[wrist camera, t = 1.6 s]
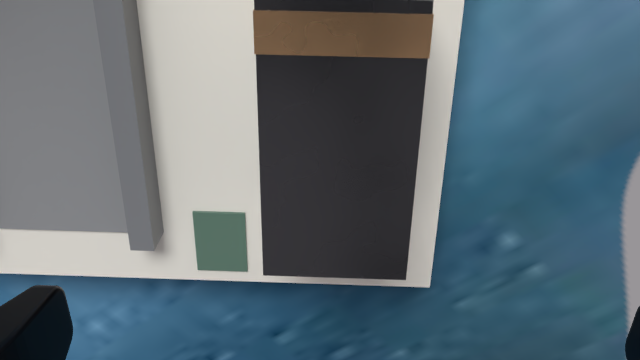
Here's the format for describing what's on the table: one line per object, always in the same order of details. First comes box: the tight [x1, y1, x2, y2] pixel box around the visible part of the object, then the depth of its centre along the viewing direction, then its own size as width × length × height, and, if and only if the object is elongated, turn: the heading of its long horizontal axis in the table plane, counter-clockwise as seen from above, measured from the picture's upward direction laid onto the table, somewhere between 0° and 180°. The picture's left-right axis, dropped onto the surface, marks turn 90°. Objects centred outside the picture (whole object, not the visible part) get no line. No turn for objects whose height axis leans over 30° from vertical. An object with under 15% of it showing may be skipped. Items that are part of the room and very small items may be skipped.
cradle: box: [0, 0, 464, 287], centre depth 19 cm, size 14×18×4 cm
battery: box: [253, 0, 434, 280], centre depth 17 cm, size 8×4×4 cm, turn 179°
